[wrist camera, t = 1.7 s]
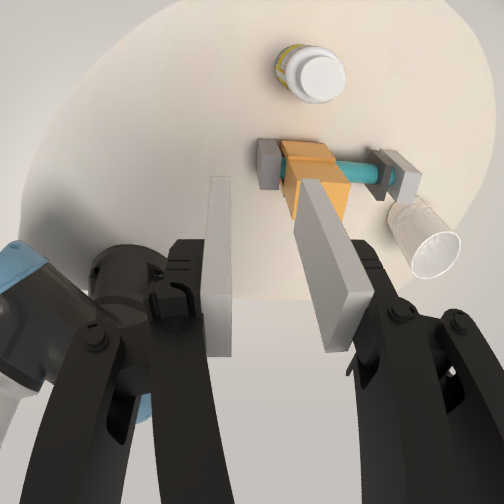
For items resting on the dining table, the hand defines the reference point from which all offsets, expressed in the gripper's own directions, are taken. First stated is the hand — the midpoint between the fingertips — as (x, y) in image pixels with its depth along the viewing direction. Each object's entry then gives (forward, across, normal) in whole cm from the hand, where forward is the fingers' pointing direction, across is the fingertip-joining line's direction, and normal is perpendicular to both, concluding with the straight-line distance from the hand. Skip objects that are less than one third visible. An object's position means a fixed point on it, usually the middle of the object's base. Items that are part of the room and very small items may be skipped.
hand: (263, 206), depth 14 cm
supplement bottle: (+25, -6, -4) cm, 26 cm away
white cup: (+25, -25, +15) cm, 38 cm away
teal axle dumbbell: (+25, -11, +7) cm, 28 cm away
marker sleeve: (+23, -7, +7) cm, 25 cm away
